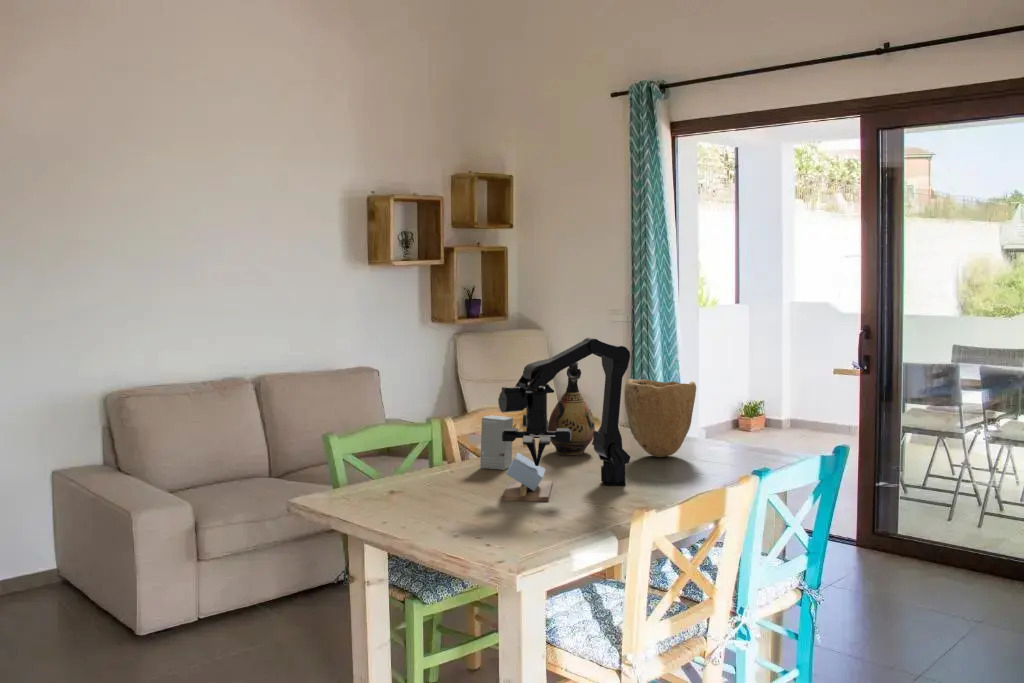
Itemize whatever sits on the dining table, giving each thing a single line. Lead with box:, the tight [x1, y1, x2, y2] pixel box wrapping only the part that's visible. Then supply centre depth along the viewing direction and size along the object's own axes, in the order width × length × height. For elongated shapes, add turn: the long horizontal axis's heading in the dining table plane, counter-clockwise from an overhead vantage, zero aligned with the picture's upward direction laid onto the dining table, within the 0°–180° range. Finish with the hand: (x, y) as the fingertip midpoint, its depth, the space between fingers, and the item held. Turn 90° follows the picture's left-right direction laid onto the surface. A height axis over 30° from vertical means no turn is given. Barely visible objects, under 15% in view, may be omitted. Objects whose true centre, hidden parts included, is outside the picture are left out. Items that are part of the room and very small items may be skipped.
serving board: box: [501, 479, 554, 502], centre depth 271 cm, size 12×18×3 cm
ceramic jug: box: [547, 361, 596, 456], centre depth 322 cm, size 17×15×30 cm
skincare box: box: [479, 414, 514, 471], centre depth 302 cm, size 8×7×16 cm
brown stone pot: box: [624, 378, 697, 458], centre depth 312 cm, size 22×22×25 cm
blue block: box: [505, 452, 546, 491], centre depth 270 cm, size 4×10×9 cm
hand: (537, 465), depth 270 cm, fingers closed
